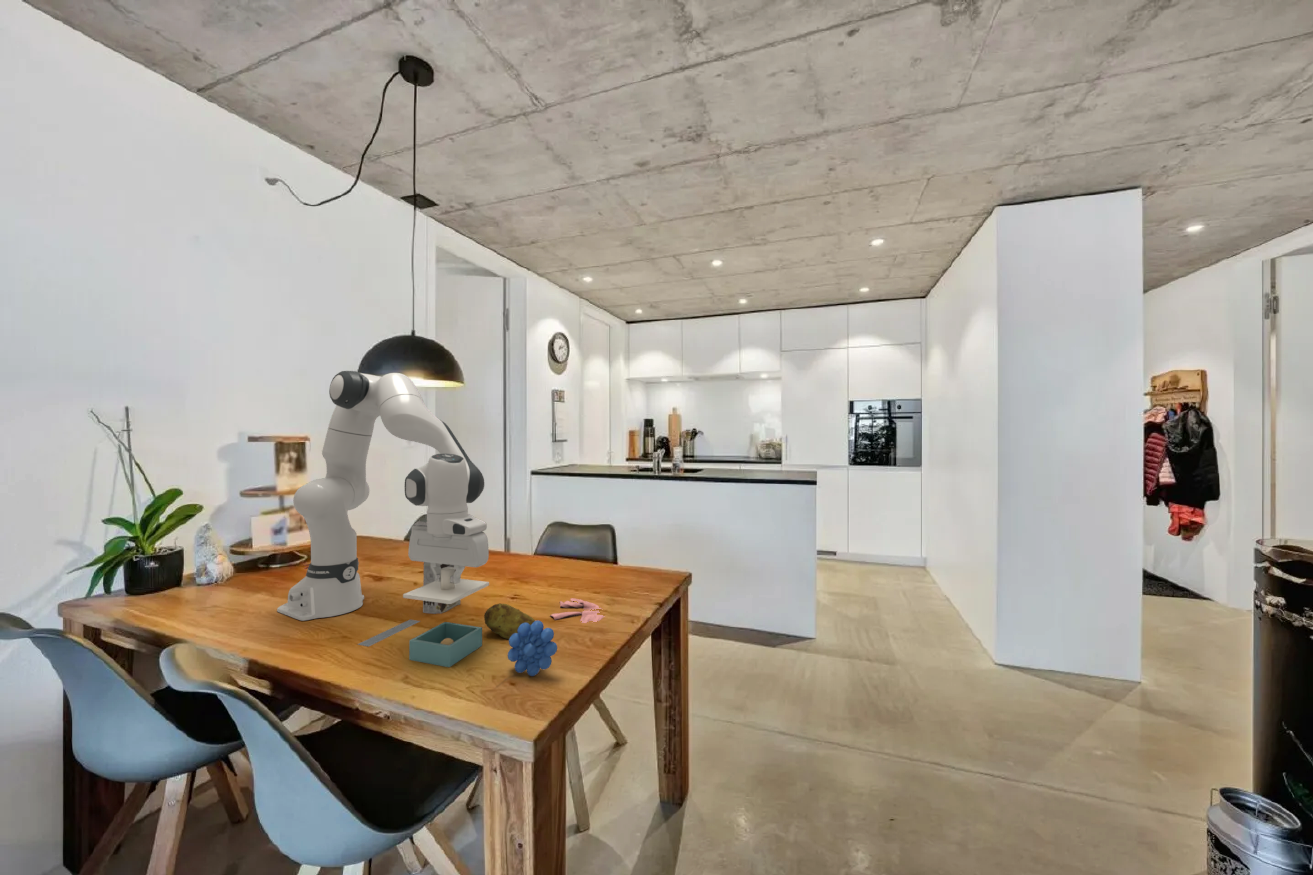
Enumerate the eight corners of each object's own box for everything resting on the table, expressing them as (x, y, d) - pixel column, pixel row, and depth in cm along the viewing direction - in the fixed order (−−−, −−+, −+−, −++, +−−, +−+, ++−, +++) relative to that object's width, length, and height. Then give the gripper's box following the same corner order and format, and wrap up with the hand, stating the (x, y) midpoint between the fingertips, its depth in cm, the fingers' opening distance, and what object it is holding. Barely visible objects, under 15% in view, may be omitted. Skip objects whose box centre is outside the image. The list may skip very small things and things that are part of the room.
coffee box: (441, 615, 132) (442, 559, 132) (422, 613, 133) (422, 557, 133) (461, 604, 141) (461, 551, 141) (442, 602, 142) (443, 550, 142)
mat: (357, 645, 113) (357, 644, 113) (409, 620, 128) (409, 619, 128) (409, 655, 108) (409, 653, 108) (457, 628, 124) (457, 626, 124)
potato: (519, 648, 113) (519, 615, 112) (478, 638, 117) (478, 607, 117) (540, 634, 120) (540, 603, 120) (501, 626, 125) (501, 596, 125)
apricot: (436, 654, 108) (436, 640, 108) (446, 648, 111) (446, 635, 111) (447, 656, 107) (447, 642, 107) (457, 650, 110) (457, 636, 110)
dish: (409, 662, 105) (409, 640, 105) (444, 641, 116) (444, 621, 116) (449, 669, 102) (449, 647, 102) (482, 647, 112) (482, 627, 112)
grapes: (565, 669, 102) (566, 615, 102) (551, 685, 96) (551, 627, 96) (518, 662, 105) (519, 609, 105) (501, 677, 99) (501, 621, 99)
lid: (403, 597, 104) (403, 574, 104) (445, 580, 117) (445, 559, 117) (450, 604, 101) (450, 579, 101) (488, 585, 113) (488, 563, 113)
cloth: (604, 627, 126) (604, 619, 126) (525, 626, 127) (525, 617, 127) (613, 601, 147) (613, 593, 147) (544, 600, 147) (544, 592, 147)
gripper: (401, 523, 109) (401, 581, 109) (474, 528, 103) (474, 590, 103) (422, 518, 115) (422, 574, 115) (492, 523, 109) (492, 582, 109)
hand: (447, 582), depth 109 cm, fingers closed on lid, 3 cm apart
